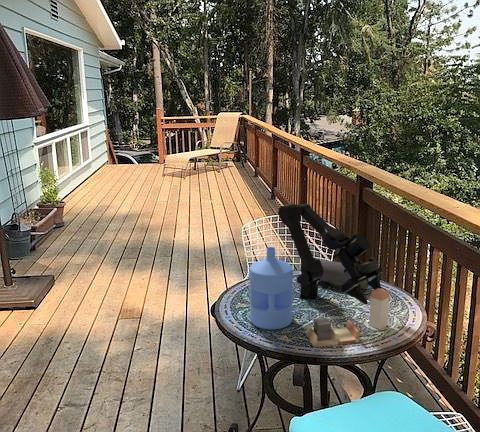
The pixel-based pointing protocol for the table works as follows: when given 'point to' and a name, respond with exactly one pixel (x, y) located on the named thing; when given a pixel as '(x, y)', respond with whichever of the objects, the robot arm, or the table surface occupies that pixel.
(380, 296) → the plug
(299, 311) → the table surface
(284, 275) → the water jug
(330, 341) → the comb rack
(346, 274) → the bluetooth speaker
